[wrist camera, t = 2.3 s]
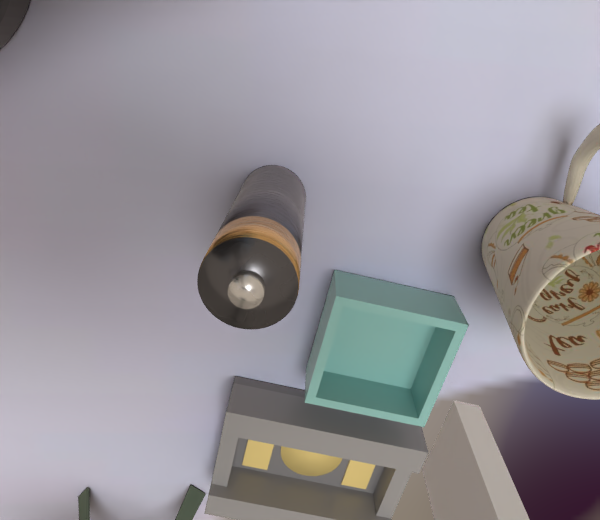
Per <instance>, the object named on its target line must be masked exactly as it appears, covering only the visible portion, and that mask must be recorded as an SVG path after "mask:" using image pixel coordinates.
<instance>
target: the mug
mask: <svg viewBox="0 0 600 520" xmlns="http://www.w3.org/2000/svg"><path fill="white" fill-rule="evenodd" d="M599 149H600V124H599V125H598V126H597V127H595V128H594V129H593V130H592V131H591V132H590V133H589V135H588V136H587V137H586V139H585V140H584V141H583V143H582V144H581V145H580V147H579V148H578V150H577V151H576V153H575V155H574V156H573V158H572V161H571V164H570V167H569V171H568V176H567V181H566V185H565V191H564V198H563V202H562V201H559V200H556V199H552V198H546V197H532V198H526V199H523V200H519V201H517V202H514V203H513V204H511V205H509V206H507V207H506V208H504V209H503V210H502V211H500V212H499V213H498V214H497V215H496V216H495V217H494V218H493V220H492V221H491V222H490V224H489V225H488V227H487V229H486V231H485V233H484V236H483V240H482V257H483V261H484V264H485V267H486V269H487V272H488V274H489V277H490V279H491V282H492V284H493V287H494V289H495V292H496V294H497V297H498V299H499V302H500V304H501V307H502V309H503V312H504V314H505V317H506V319H507V322H508V324H509V327H510V329H511V332H512V334H513V337H514V339H515V342H516V344H517V347H518V349H519V352H520V354H521V356H522V358H523V360H524V361H525V363H526V365H527V366H528V368H529V369H530V370H531V372H532V373H533V374H534V375H535V376H536V377H537V378H538V379H539V380H540V381H541V382H543V383H544V384H545V385H547V386H548V387H550V388H552V389H553V390H556V391H558V392H560V393H562V394H566V395H569V396H572V397H577V398H584V399H600V215H598V214H595V213H592V212H589V211H587V210H584V209H581V208H578V207H576V206H573V205H572V204H573V202H574V200H575V197H576V195H577V192H578V190H579V187H580V184H581V181H582V178H583V176H584V173H585V170H586V168H587V166H588V164H589V162H590V161H591V159H592V157H593V156H594V155H595V153H596V152H597V151H598V150H599Z"/></svg>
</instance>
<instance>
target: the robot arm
mask: <svg viewBox="0 0 600 520" xmlns="http://www.w3.org/2000/svg"><path fill="white" fill-rule="evenodd" d="M29 3H30V0H0V49H1V48H2V47H3V46H4V45H5V44H6V43H7V42H8V40H9V39H10V38H11V37H12V36H13V34H14V33H15V31H16V30H17V28H18V27H19V25H20V23H21V21H22V20H23V18H24V15H25V13H26V11H27V9H28V6H29ZM422 470H423V474H424V478H425V483H426V487H427V491H428V495H429V500H430V504H431V508H432V512H433V516H434V520H529V518H528V515H527V513H526V511H525V508H524V506H523V504H522V502H521V500H520V497H519V495H518V492H517V490H516V488H515V486H514V484H513V481H512V479H511V477H510V474H509V472H508V470H507V467H506V465H505V464H504V461H503V458H502V457H501V454H500V452H499V449H498V447H497V445H496V442H495V440H494V438H493V435H492V433H491V431H490V429H489V427H488V424H487V422H486V420H485V417H484V415H483V413H482V410H481V408H480V406H478V405H473V404H468V403H463V402H459V401H453V403H452V406H451V408H450V410H449V412H448V414H447V416H446V419H445V421H444V423H443V425H442V428H441V430H440V432H439V434H438V436H437V438H436V441H435V443H434V445H433V447H432V449H431V452H430V454H429V456H428V458H427V460H426V462H425V465H424V467H423V469H422Z"/></svg>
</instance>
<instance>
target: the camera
mask: <svg viewBox="0 0 600 520" xmlns="http://www.w3.org/2000/svg"><path fill="white" fill-rule="evenodd" d="M204 496H205V493H203V492H202V491H200V490H199V489H197V488H195V487H193V486H192V485H190V487H189V490H188V492H187V494H186V496H185V499H184V501H183V503H182V505H181V508H180V510H179V512H178V514H177V517H176V519H175V520H192V519H193V517H194V515H195V513H196V511H197V510H198V508H199V506H200V504H201V502H202V500H203V498H204ZM78 502H79V520H90V502H89V488H87V489H85V490H84V491H83V492H82V493H81V495H80V496H79V497H78Z"/></svg>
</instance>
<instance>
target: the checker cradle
mask: <svg viewBox="0 0 600 520" xmlns="http://www.w3.org/2000/svg"><path fill="white" fill-rule="evenodd" d="M427 454H428V450H427V446H426V443H425V438H424V435H423V431H422V427H421V426H416V425H411V424H406V423H401V422H397V421H392V420H387V419H382V418H377V417H372V416H367V415H363V414H358V413H353V412H348V411H343V410H338V409H333V408H328V407H324V406H319V405H314V404H309V403H305V390H300V389H295V388H291V387H286V386H281V385H276V384H271V383H266V382H262V381H257V380H252V379H247V378H242V377H237V376H235V379H234V383H233V387H232V391H231V395H230V399H229V403H228V407H227V411H226V415H225V420H224V425H223V429H222V436H221V440H220V445H219V450H218V454H217V459H216V464H215V468H214V473H213V478H212V482H211V487H210V491H209V495H208V500H207V504H206V509H205V514H209V515H215V516H220V517H225V518H231V519H236V520H391V518H392V516H393V513H394V511H395V509H396V507H397V505H398V502H399V500H400V498H401V495H402V493H403V491H404V489H405V487H406V484H407V482H408V480H409V477H410V475H411V473H412V472H414V473H419V472H420V470H421V468H422V465H423V463H424V461H425V459H426V457H427Z"/></svg>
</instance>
